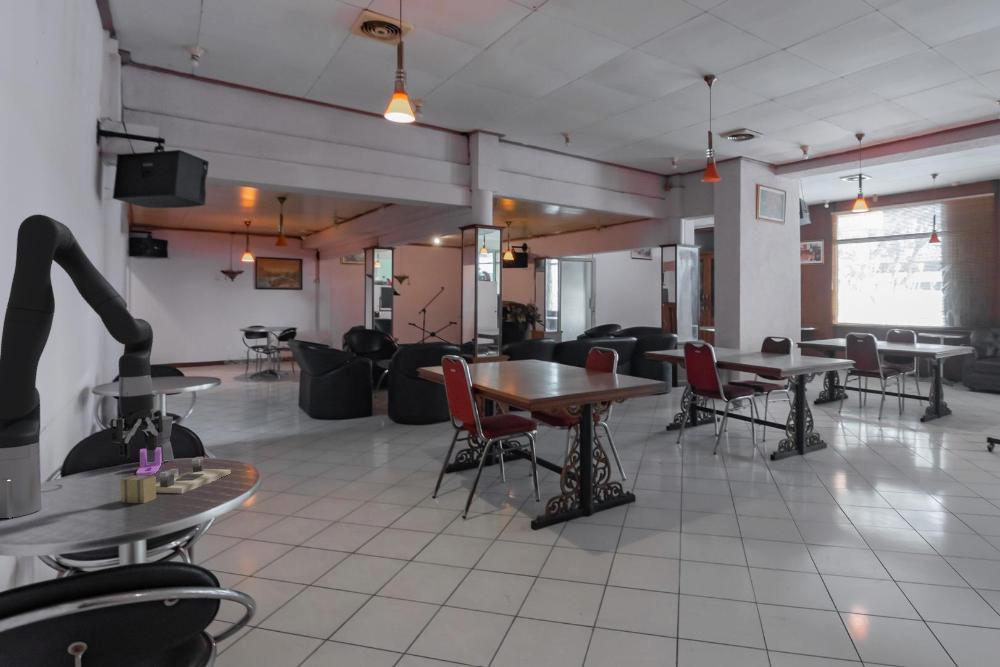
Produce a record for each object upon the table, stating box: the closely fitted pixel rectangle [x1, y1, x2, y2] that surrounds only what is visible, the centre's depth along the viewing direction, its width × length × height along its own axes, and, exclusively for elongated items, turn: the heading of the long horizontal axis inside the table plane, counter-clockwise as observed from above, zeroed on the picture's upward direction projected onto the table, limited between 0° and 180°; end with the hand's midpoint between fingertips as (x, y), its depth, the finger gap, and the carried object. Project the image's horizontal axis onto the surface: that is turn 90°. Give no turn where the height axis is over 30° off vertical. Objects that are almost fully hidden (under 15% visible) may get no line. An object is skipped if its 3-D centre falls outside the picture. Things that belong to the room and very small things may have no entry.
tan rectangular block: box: [120, 475, 157, 504], centre depth 146 cm, size 7×4×6 cm, turn 79°
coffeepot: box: [142, 409, 175, 462], centre depth 190 cm, size 15×9×18 cm, turn 4°
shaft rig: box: [156, 456, 232, 494], centre depth 162 cm, size 20×12×6 cm, turn 169°
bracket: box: [135, 447, 162, 476], centre depth 177 cm, size 13×6×7 cm, turn 25°
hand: (138, 453), depth 146 cm, fingers open, 8 cm apart
